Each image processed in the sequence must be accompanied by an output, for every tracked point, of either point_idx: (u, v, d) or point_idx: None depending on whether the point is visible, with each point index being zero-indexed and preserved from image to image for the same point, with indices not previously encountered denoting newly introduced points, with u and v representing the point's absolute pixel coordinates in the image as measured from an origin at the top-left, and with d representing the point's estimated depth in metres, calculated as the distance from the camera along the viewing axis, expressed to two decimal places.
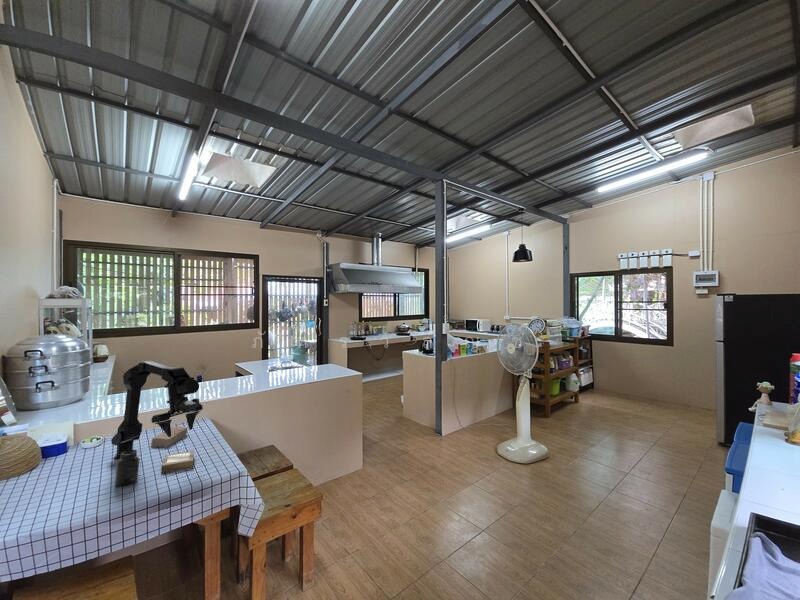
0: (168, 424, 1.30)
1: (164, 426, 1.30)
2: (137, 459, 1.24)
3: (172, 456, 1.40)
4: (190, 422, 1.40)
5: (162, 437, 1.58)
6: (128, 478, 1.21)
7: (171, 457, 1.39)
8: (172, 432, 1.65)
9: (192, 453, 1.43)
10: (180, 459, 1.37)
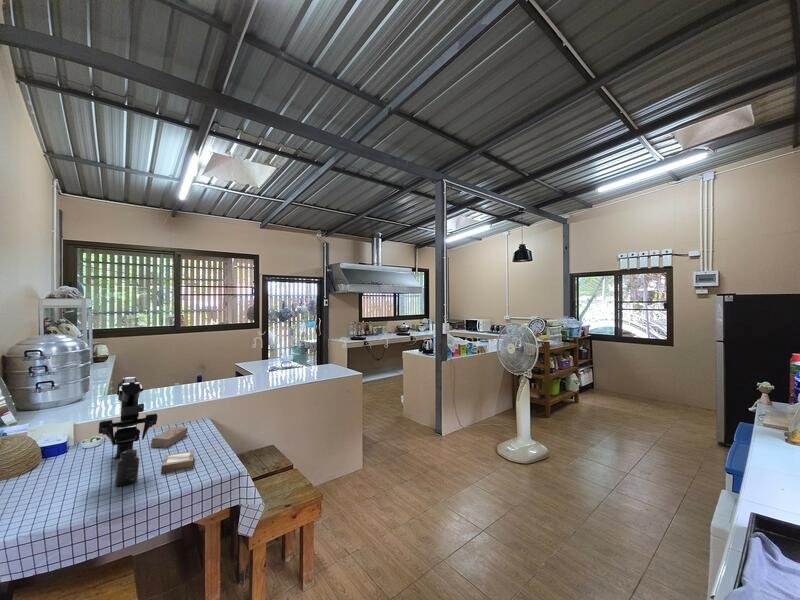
0: (110, 431, 1.27)
1: (109, 435, 1.28)
2: (137, 459, 1.24)
3: (172, 456, 1.40)
4: (143, 432, 1.34)
5: (162, 437, 1.58)
6: (128, 478, 1.21)
7: (171, 457, 1.39)
8: (172, 432, 1.65)
9: (192, 453, 1.43)
10: (180, 459, 1.37)
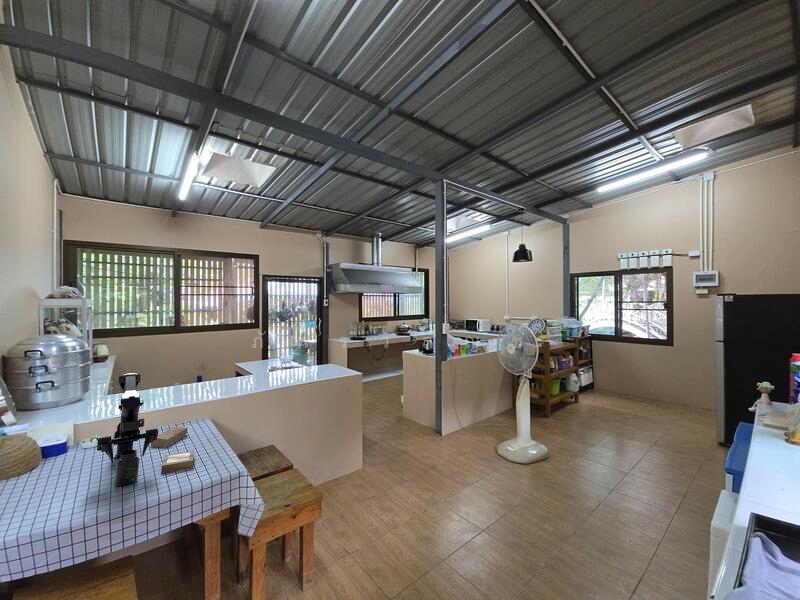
0: (109, 448, 1.22)
1: None
2: (137, 459, 1.24)
3: (172, 456, 1.40)
4: (143, 448, 1.29)
5: (161, 437, 1.58)
6: (128, 478, 1.21)
7: (171, 457, 1.39)
8: (172, 432, 1.65)
9: (192, 453, 1.43)
10: (180, 459, 1.37)
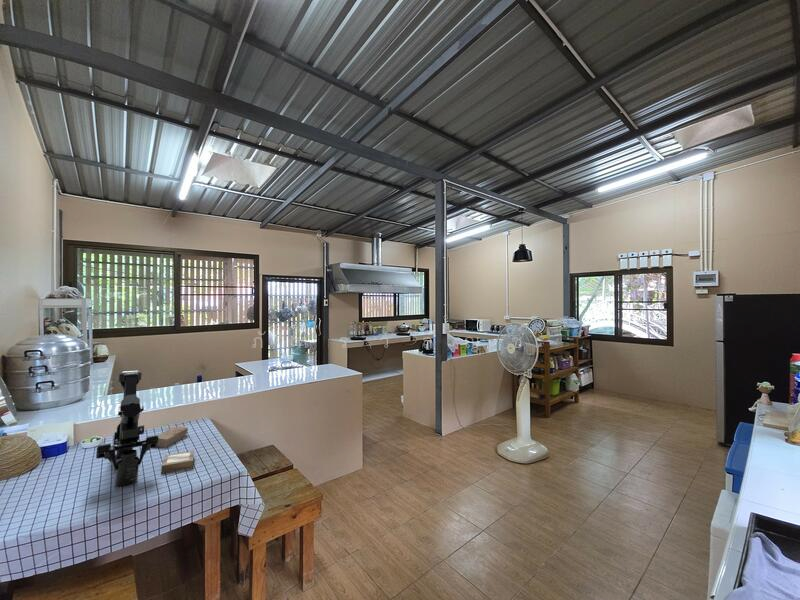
0: (112, 455, 1.21)
1: None
2: (137, 459, 1.24)
3: (172, 456, 1.40)
4: (140, 456, 1.26)
5: (161, 437, 1.58)
6: (128, 478, 1.21)
7: (171, 457, 1.39)
8: (172, 432, 1.65)
9: (192, 453, 1.43)
10: (180, 459, 1.37)
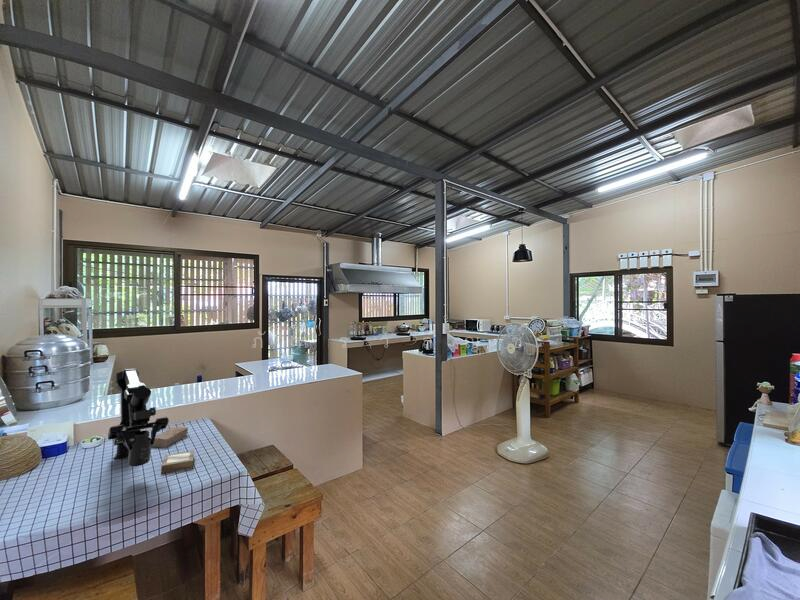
0: (125, 435, 1.23)
1: (124, 440, 1.24)
2: (150, 439, 1.27)
3: (172, 456, 1.40)
4: (151, 437, 1.29)
5: (161, 437, 1.58)
6: (142, 457, 1.24)
7: (171, 457, 1.39)
8: (172, 432, 1.65)
9: (192, 453, 1.43)
10: (180, 459, 1.37)
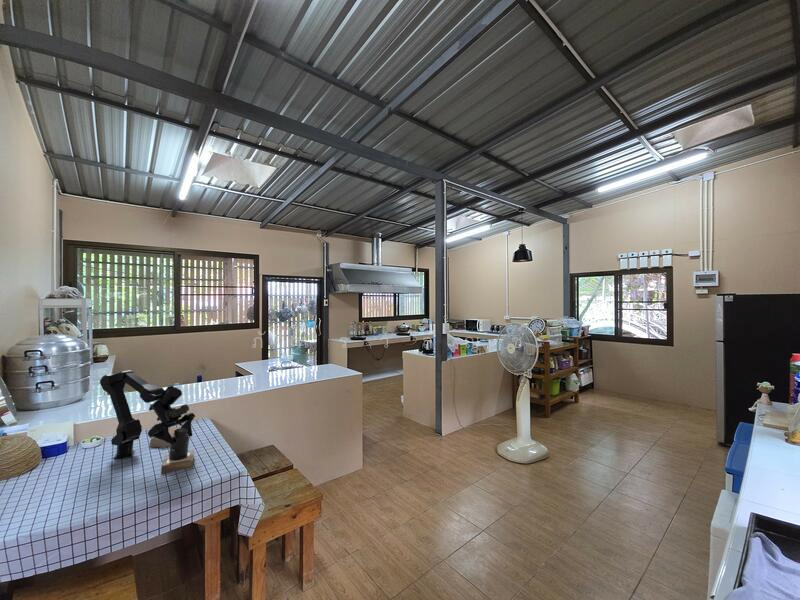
0: (167, 432, 1.34)
1: (164, 436, 1.34)
2: None
3: None
4: (188, 430, 1.44)
5: None
6: (185, 451, 1.38)
7: None
8: (172, 432, 1.64)
9: (192, 453, 1.43)
10: None
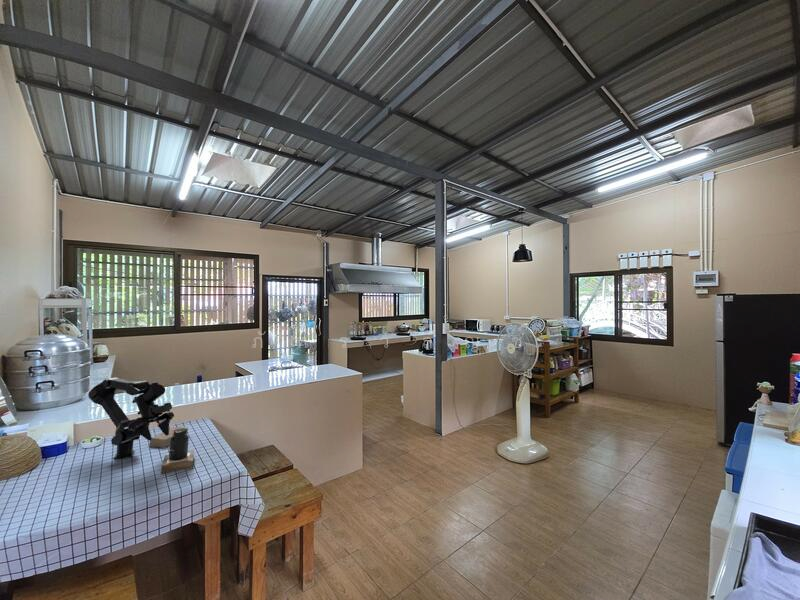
0: (147, 427, 1.36)
1: (142, 431, 1.35)
2: (187, 435, 1.42)
3: None
4: (165, 428, 1.45)
5: (160, 437, 1.57)
6: (185, 451, 1.38)
7: None
8: (171, 432, 1.64)
9: (192, 453, 1.43)
10: None
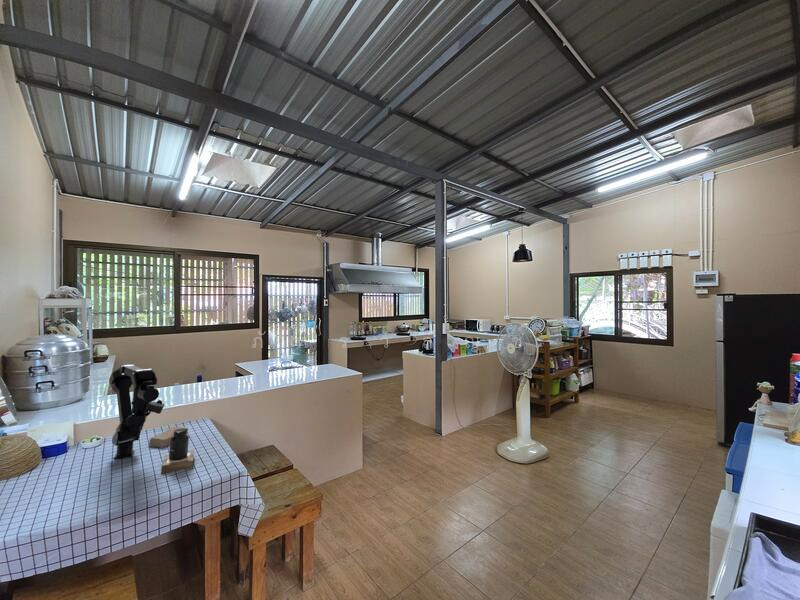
0: (141, 425, 1.35)
1: (134, 427, 1.34)
2: (187, 435, 1.42)
3: None
4: None
5: (159, 437, 1.57)
6: (185, 451, 1.39)
7: None
8: (171, 432, 1.64)
9: (192, 453, 1.43)
10: None
